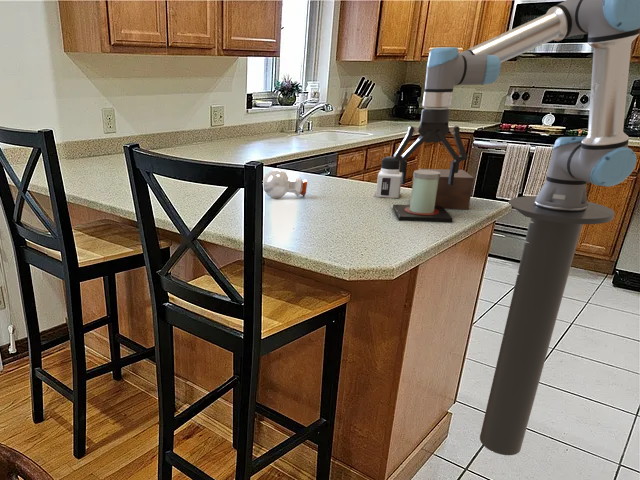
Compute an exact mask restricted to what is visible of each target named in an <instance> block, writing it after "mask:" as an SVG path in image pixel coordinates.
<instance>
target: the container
mask: <svg viewBox="0 0 640 480" xmlns="http://www.w3.org/2000/svg"><path fill="white" fill-rule="evenodd" d="M399 164H400V161H399V160H397V159H395V158H394V156H385V157H383V158H382V159H381V164H380V165H381V167H380V171H378V173H377V179H376V190H375V196H376V198H388V199H389V198H390V199H399V198H400V194H401V187H402V183H401V179H402V173H400V172H399Z"/></svg>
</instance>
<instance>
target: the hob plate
mask: <svg viewBox="0 0 640 480" xmlns="http://www.w3.org/2000/svg"><path fill="white" fill-rule="evenodd" d="M409 208H410V204H392V209H393V211H394V214H395V216H396V217H397V219H398V221H400V222H401V221H405V222H431V223H453V217H452V216H451V214H450V213H449V212H448V211H447V209H444V208H443V207H442V206H435V208H434V212H433V213H416V212H412V211H410V210H409Z"/></svg>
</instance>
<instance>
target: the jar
mask: <svg viewBox="0 0 640 480" xmlns="http://www.w3.org/2000/svg"><path fill="white" fill-rule="evenodd" d="M440 174H441V173H440V172H438V171H433V170H420V169H416V170H413V173H412V177H413V178H412V186H411V193H410V201H409V205H410V208H409V210H410V211H412V212H416V213H433V212H434V208H435V202H436V195H437V189H438V182H439V178H440Z"/></svg>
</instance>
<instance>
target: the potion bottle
mask: <svg viewBox="0 0 640 480" xmlns="http://www.w3.org/2000/svg"><path fill="white" fill-rule="evenodd" d="M263 179H264V188H263V191H264V192H265V194H266V195H267V196H268V197H270V198H273V199H279V198H283V196H285V195H286V194H287V193H293V194H294V195H295V196H296V197H297V198H299V197H300V195H301V196H302V197H303V198H305V197H306V196H305V195H306V194H307V187H308V180H307V178H305V179H302V178H301V177H300V176H299V177H298V178H295V179H291V178H289V177H288V175H287V172H286V171H283V170H280V169H272V170H270V171H269V172H268V173H266V174H264V177H263Z"/></svg>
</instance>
